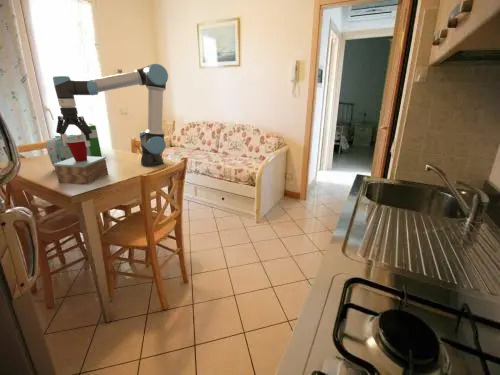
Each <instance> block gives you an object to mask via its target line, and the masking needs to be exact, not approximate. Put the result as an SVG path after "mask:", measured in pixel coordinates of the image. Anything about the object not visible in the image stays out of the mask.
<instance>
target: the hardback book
mask: <svg viewBox="0 0 500 375" xmlns="http://www.w3.org/2000/svg"><path fill="white" fill-rule="evenodd" d="M87 125H88V126H89V128H90V130H91V131H92V133H91V134H89V136H90V140H89V141H90V146H89V148H90V151H91V156H94V157H103V155H102V150H101V146H100V140H99V136H98V130H97V126H96V125H95V124H93V123H90V122H89V123H87ZM80 134H82V135H84V133H83V132H82V131H81V130H80Z"/></svg>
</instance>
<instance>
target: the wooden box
mask: <svg viewBox="0 0 500 375" xmlns="http://www.w3.org/2000/svg"><path fill="white" fill-rule="evenodd" d="M53 167H54V170H55V173H56V178H57V182H58V183H59V184H69V185H71V184H73V185H85V186H87V185H90V184H92V183H94V182H97V181H98V180H101V179H103V178H104V177H108V176H109V172H108V165H107V161H106V159H104V160H101V161H99V162H96V163H94V164H91V165H89V166H86V167H67V166H53Z"/></svg>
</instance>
